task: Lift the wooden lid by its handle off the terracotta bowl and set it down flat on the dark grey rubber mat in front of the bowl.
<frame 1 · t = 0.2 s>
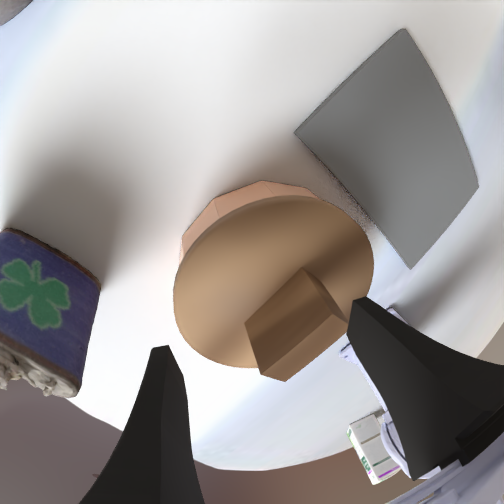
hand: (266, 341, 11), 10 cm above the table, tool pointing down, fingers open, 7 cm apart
syrup box: (359, 422, 49), on the table
lid: (277, 292, 18), point 3 cm above the table, touching bowl
flask: (49, 261, 17), on the table
bowl: (262, 262, 21), on the table
mat: (413, 162, 20), on the table
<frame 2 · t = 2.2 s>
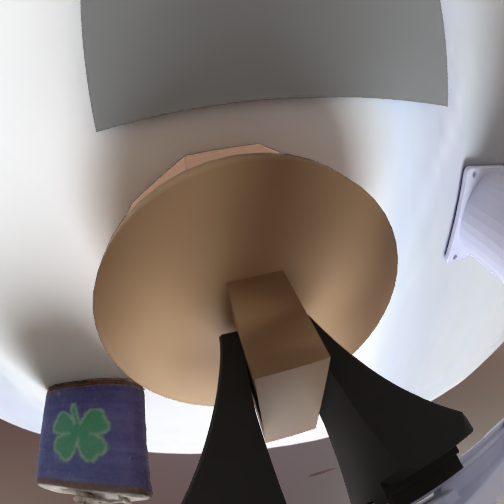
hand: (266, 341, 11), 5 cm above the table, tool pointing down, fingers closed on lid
lid: (254, 309, 12), point 3 cm above the table, touching bowl, gripper
flask: (91, 388, 18), on the table
bowl: (238, 264, 15), on the table
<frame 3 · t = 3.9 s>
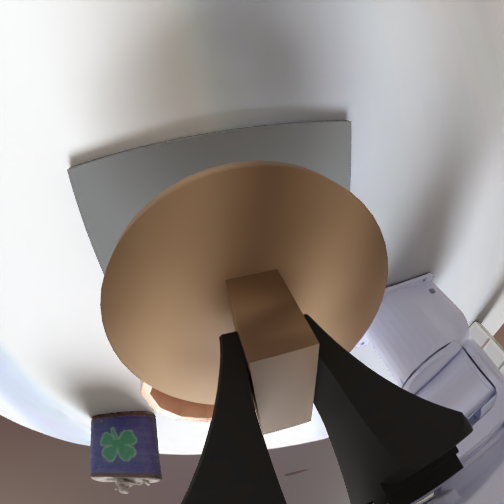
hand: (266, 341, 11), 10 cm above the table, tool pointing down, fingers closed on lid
syrup box: (468, 332, 42), on the table
lid: (252, 307, 13), point 8 cm above the table, touching gripper
flask: (122, 416, 29), on the table
bowl: (205, 362, 26), on the table
mat: (224, 222, 19), on the table
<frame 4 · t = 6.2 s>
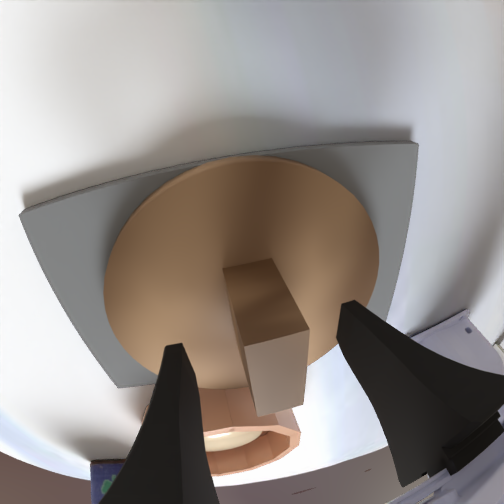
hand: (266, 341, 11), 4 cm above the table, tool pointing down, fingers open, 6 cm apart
syrup box: (487, 353, 37), on the table
lid: (248, 295, 14), point 1 cm above the table, touching mat
flask: (123, 461, 24), on the table
bowl: (216, 421, 21), on the table
mat: (244, 281, 14), on the table
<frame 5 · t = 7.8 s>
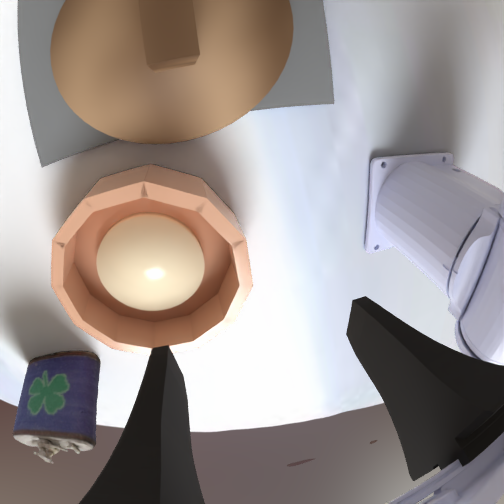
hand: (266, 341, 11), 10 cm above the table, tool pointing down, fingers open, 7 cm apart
lid: (169, 29, 11), point 1 cm above the table, touching mat
flask: (62, 360, 22), on the table
bowl: (150, 255, 19), on the table
mat: (168, 25, 12), on the table
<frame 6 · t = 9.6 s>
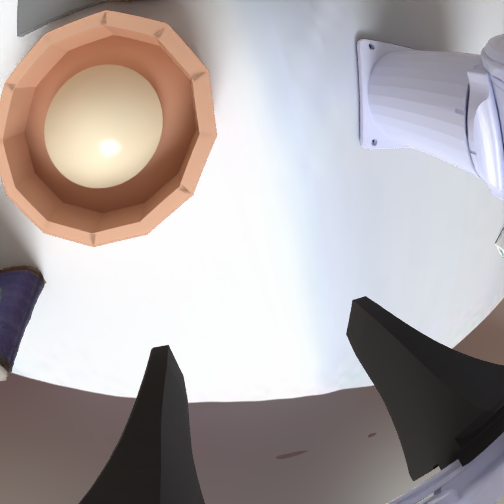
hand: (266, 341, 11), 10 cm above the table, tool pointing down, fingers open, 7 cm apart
flask: (6, 283, 17), on the table
bowl: (106, 123, 14), on the table
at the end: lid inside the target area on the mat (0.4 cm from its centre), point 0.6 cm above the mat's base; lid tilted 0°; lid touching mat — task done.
